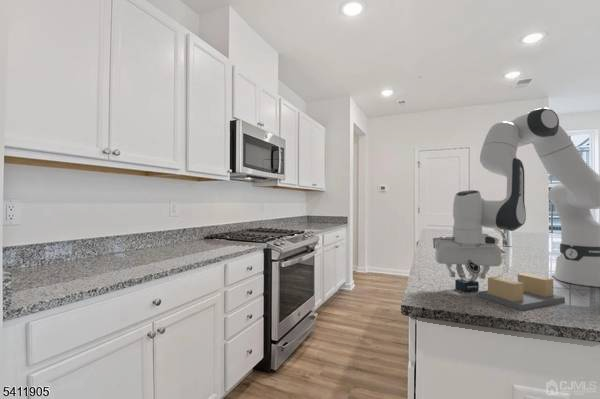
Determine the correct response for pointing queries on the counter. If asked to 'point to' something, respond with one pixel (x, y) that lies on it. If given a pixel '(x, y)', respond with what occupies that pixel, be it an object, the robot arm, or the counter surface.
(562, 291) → the counter surface
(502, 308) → the counter surface
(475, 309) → the counter surface
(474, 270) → the watch
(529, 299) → the holder
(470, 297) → the counter surface
